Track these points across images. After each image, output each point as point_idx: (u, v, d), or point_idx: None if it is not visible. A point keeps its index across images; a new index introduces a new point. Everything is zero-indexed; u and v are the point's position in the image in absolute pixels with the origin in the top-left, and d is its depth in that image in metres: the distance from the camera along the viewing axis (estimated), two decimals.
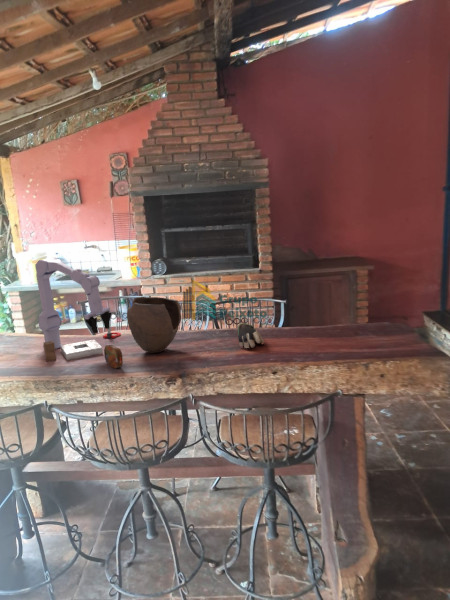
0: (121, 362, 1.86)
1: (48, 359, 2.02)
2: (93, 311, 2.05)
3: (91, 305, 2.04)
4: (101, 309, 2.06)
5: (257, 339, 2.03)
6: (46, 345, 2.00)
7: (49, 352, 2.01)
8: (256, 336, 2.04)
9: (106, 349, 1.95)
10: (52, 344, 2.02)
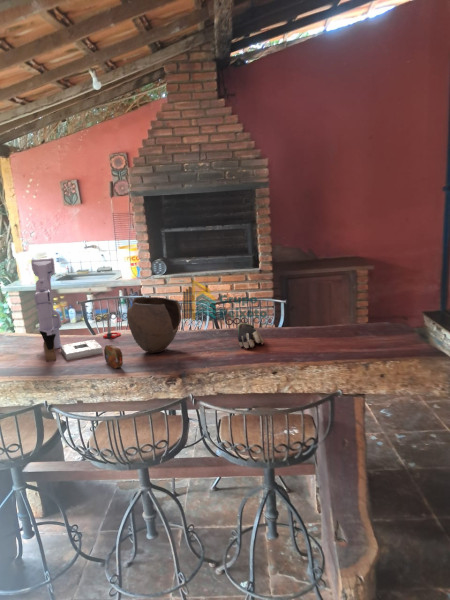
0: (121, 362, 1.86)
1: (48, 359, 2.02)
2: None
3: None
4: None
5: (256, 339, 2.03)
6: None
7: (49, 352, 2.01)
8: (256, 336, 2.04)
9: (106, 349, 1.95)
10: None
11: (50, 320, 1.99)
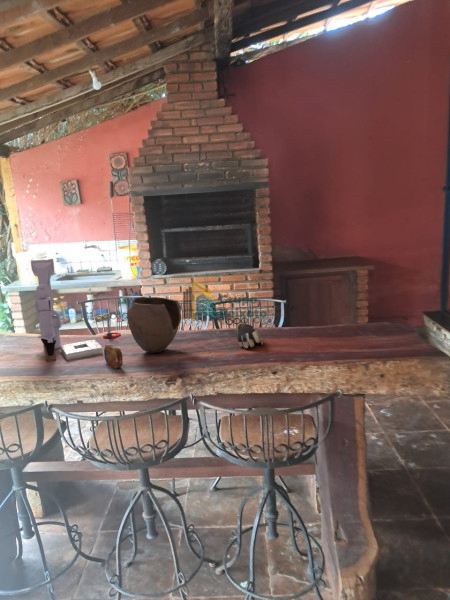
0: (121, 362, 1.86)
1: (48, 359, 2.02)
2: None
3: None
4: None
5: (256, 339, 2.03)
6: None
7: None
8: (255, 336, 2.05)
9: (106, 349, 1.95)
10: None
11: (51, 327, 2.00)
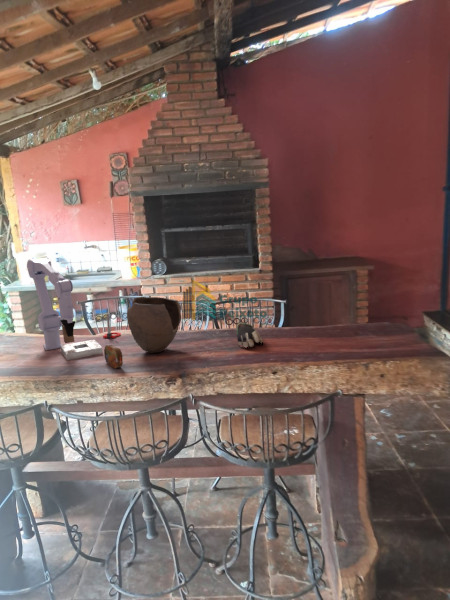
0: (121, 362, 1.86)
1: (67, 341, 2.06)
2: None
3: None
4: (60, 315, 2.04)
5: (256, 338, 2.04)
6: (64, 327, 2.04)
7: None
8: (255, 335, 2.05)
9: (106, 349, 1.95)
10: None
11: (70, 308, 2.04)
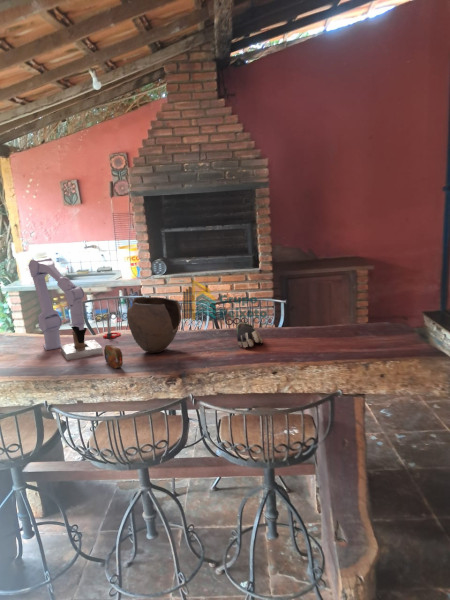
0: (121, 362, 1.86)
1: (78, 348, 2.09)
2: None
3: None
4: None
5: (256, 338, 2.04)
6: (75, 334, 2.08)
7: None
8: (255, 335, 2.05)
9: (106, 349, 1.95)
10: None
11: (82, 315, 2.08)
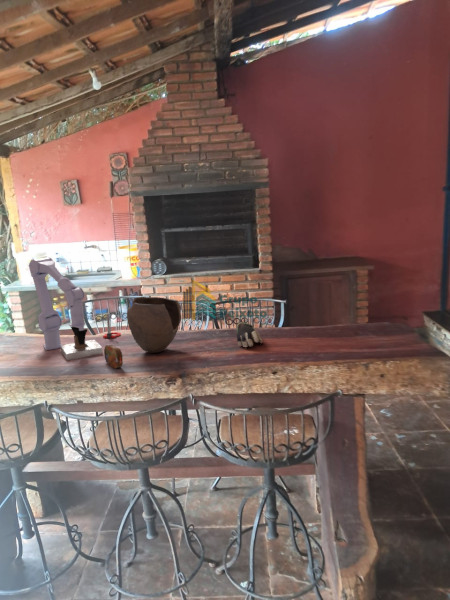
0: (121, 362, 1.86)
1: None
2: None
3: None
4: None
5: (255, 338, 2.04)
6: (77, 338, 2.08)
7: (80, 345, 2.10)
8: (254, 335, 2.05)
9: (106, 349, 1.95)
10: None
11: (82, 316, 2.08)
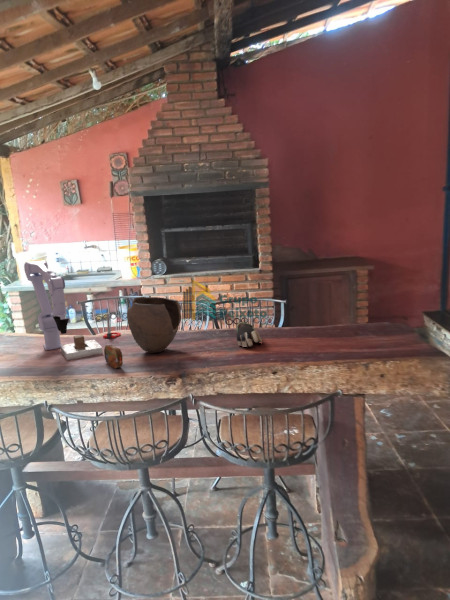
0: (121, 362, 1.86)
1: None
2: None
3: None
4: (53, 312, 2.07)
5: (255, 338, 2.04)
6: (76, 339, 2.08)
7: (79, 345, 2.09)
8: (254, 335, 2.06)
9: (106, 349, 1.95)
10: (82, 338, 2.10)
11: (63, 305, 2.07)
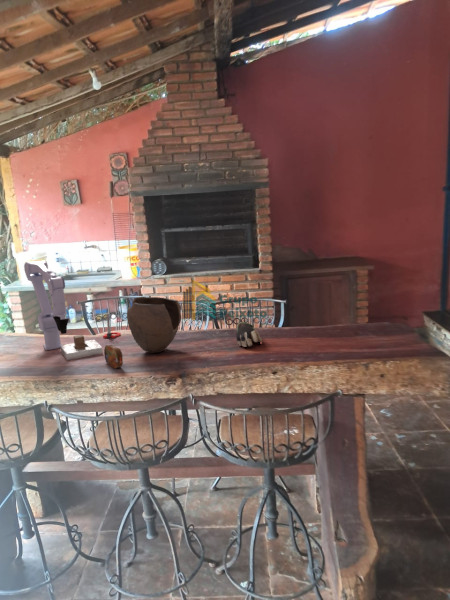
0: (121, 362, 1.86)
1: None
2: None
3: None
4: (53, 312, 2.07)
5: (254, 338, 2.04)
6: (76, 339, 2.08)
7: (79, 345, 2.09)
8: (254, 335, 2.06)
9: (106, 349, 1.95)
10: (82, 338, 2.10)
11: (63, 305, 2.07)
